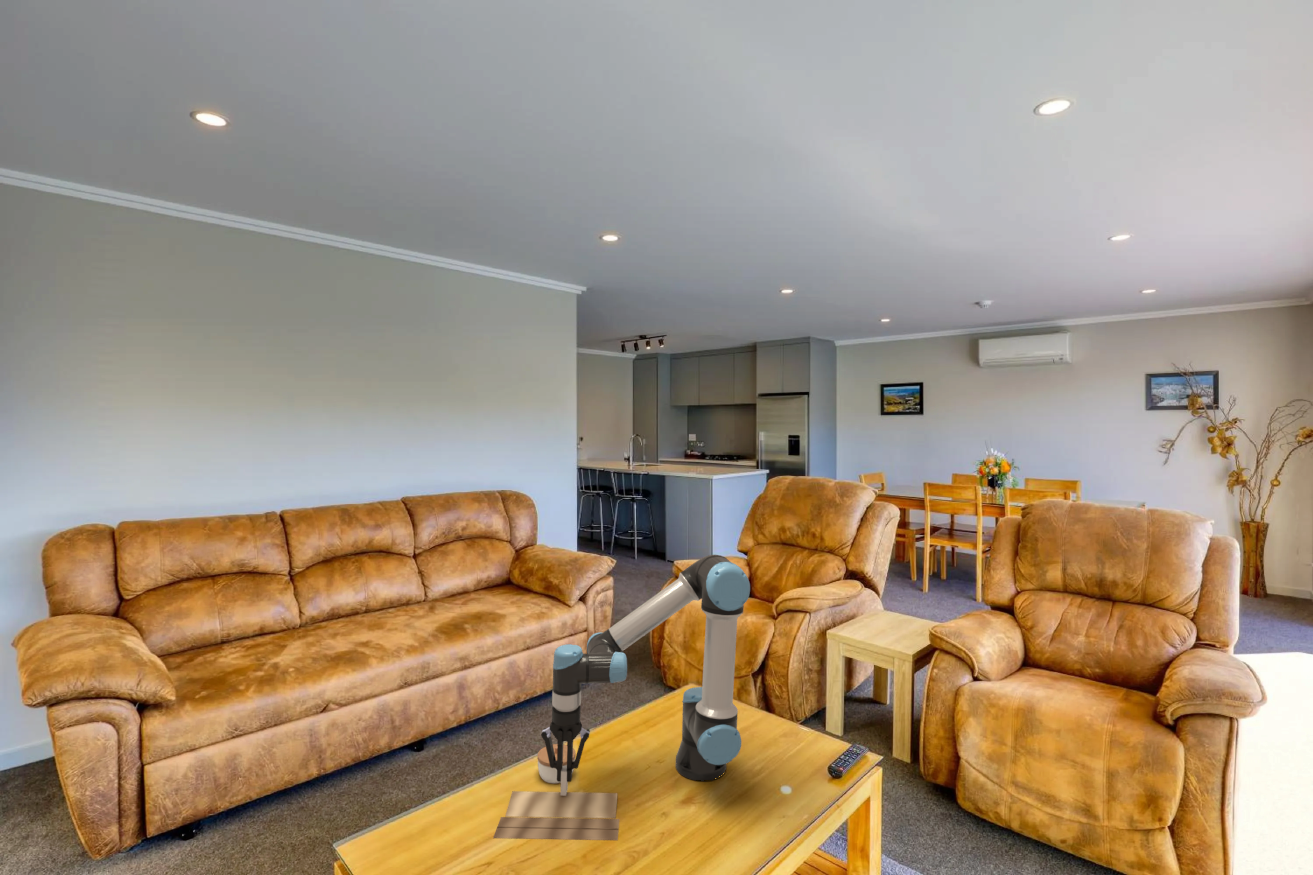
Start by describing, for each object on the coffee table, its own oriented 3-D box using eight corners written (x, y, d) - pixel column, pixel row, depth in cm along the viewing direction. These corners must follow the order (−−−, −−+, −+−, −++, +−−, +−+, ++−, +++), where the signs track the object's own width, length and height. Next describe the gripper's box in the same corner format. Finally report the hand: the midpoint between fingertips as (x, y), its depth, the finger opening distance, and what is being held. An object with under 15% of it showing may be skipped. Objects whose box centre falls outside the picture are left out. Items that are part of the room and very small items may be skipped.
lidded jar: (567, 793, 168) (568, 759, 168) (530, 788, 170) (531, 754, 170) (580, 772, 179) (580, 740, 179) (545, 767, 181) (546, 735, 181)
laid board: (619, 824, 155) (619, 818, 155) (617, 846, 147) (617, 839, 147) (500, 822, 155) (501, 816, 155) (492, 844, 147) (492, 837, 147)
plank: (617, 797, 164) (617, 792, 163) (615, 822, 156) (615, 818, 156) (512, 795, 164) (512, 791, 163) (505, 820, 156) (505, 816, 155)
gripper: (592, 699, 166) (589, 784, 167) (544, 697, 166) (541, 783, 167) (589, 712, 158) (587, 801, 159) (539, 711, 158) (536, 800, 159)
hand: (563, 792), depth 163 cm, fingers closed
